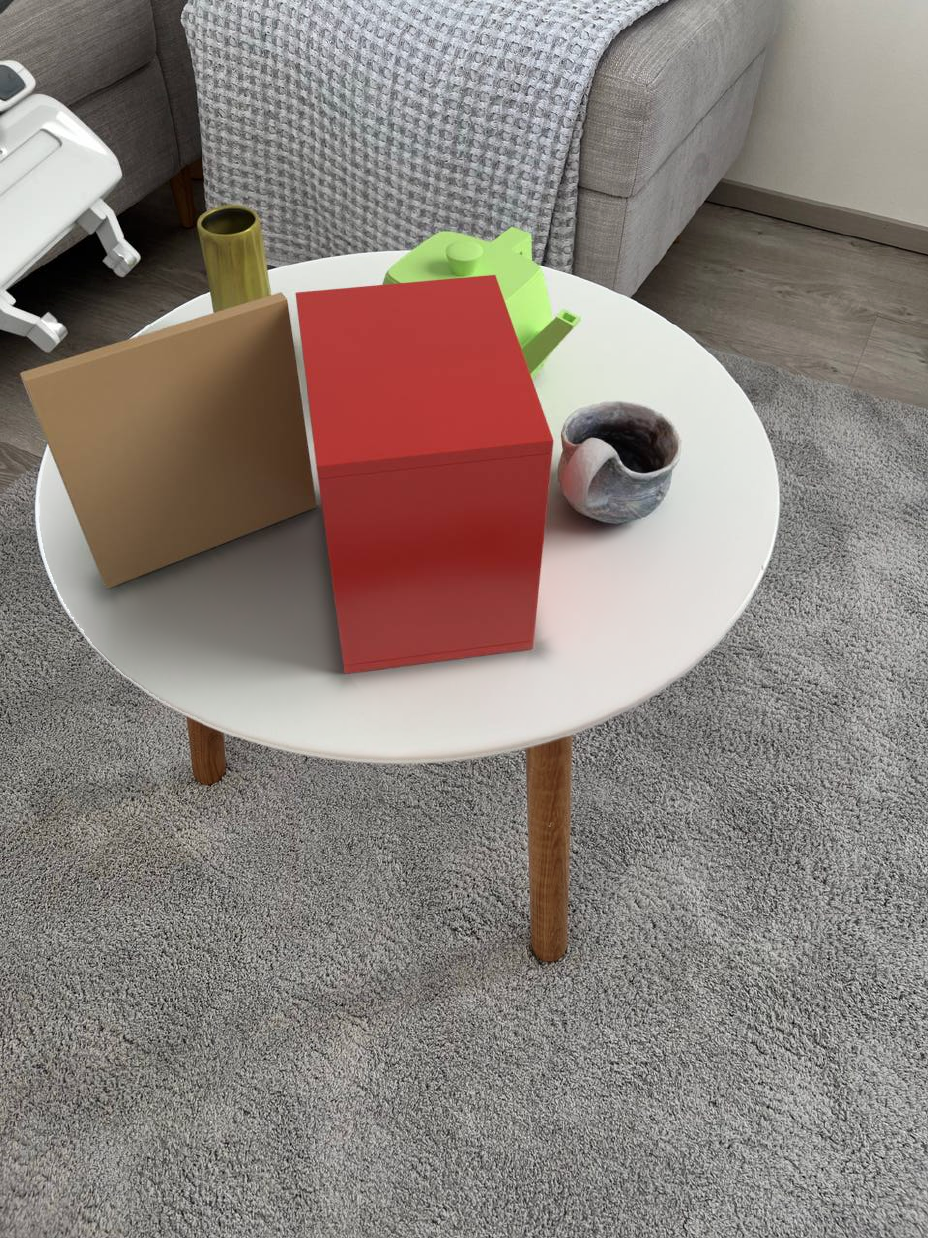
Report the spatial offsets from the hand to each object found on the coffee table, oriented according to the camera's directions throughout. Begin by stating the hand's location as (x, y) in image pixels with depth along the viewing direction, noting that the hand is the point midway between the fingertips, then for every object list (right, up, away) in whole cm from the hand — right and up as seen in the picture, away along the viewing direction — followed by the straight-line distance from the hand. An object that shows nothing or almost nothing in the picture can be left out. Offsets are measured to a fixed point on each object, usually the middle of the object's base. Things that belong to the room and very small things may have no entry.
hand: (97, 304), depth 72 cm
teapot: (+28, 0, +24) cm, 37 cm away
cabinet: (+23, -19, +8) cm, 30 cm away
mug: (+38, -14, +13) cm, 42 cm away
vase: (+6, +3, +26) cm, 27 cm away
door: (+4, -14, +11) cm, 19 cm away
